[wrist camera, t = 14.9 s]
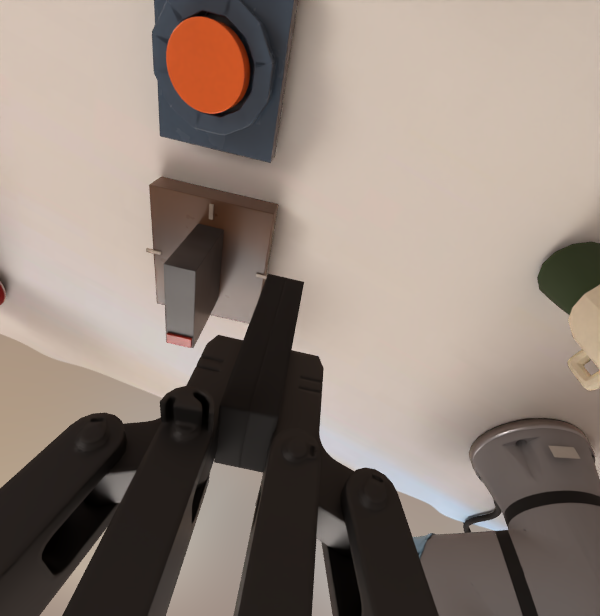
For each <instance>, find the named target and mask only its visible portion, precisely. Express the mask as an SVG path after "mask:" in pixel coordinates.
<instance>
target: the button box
mask: <svg viewBox="0 0 600 616" xmlns="http://www.w3.org/2000/svg"><path fill="white" fill-rule="evenodd" d="M297 5H298V0H154V8H155V27H154V29H153V31H152V44H153V65H154V74H155V76H156V78H157V80H158V101H159V124H160V136H162V137H166V138H170V139H174V140H178V141H182V142H186V143H190V144H195V145H199V146H203V147H207V148H211V149H215V150H219V151H223V152H228V153H232V154H236V155H240V156H244V157H248V158H252V159H257V160H261V161H265V162H269V163H271V161H272V160H273V158H274V157H275V152H276V145H277V139H278V132H279V125H280V119H281V112H282V105H283V99H284V92H285V85H286V78H287V72H288V65H289V58H290V52H291V45H292V38H293V32H294V25H295V18H296V12H297ZM195 16H202V17H208V18H211V19H214V20H217V21H220V22H222V23H224V24H226V25H227V26H229V27H230V28H231V29H232V30H233V31H234V32H235V33H236V34H237V35H238V37H239V38H240V40H241V41H242V43H243V45H244V47H245V49H246V52H247V55H248V58H249V63H250V80H249V85H248V88H247V91H246V93H245V95H244V97H243V98H242V99H241V101H240V102H239V103H238V104H237V105H235V106H234V107H232V108H230V109H228V110H226V111H224V112H221V113H216V114H208V113H203V112H200V111H198V110H196V109H194V108H192V107H191V106H189V105H188V104H187V103H186V102H185V101H184V100H183V99H182V98H181V97H180V96H179V94H178V93H177V91H176V90H175V88H174V86H173V84H172V82H171V79H170V77H169V73H168V69H167V62H166V51H167V45H168V41H169V38H170V36H171V34H172V32H173V30H174V29H175V28H176V27H177V25H179V24H180V23H181V22H182V21H184V20H185V19H188V18H190V17H195Z"/></svg>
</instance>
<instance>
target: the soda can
mask: <svg viewBox="0 0 600 616" xmlns="http://www.w3.org/2000/svg"><path fill="white" fill-rule="evenodd" d="M5 299H6V291H5V288H4V286H3V284H2V283H1V281H0V305H1V304H2V303H3V302H4V301H5Z"/></svg>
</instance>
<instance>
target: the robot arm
mask: <svg viewBox="0 0 600 616" xmlns="http://www.w3.org/2000/svg"><path fill="white" fill-rule="evenodd" d="M303 285H304V282H301V281H297V280H293V279H288V278H284V277H280V276H275V275H271V274H268V275H267V278H266V280H265V283H264V286H263V289H262V291H261V294H260V297H259V299H258V302H257V305H256V308H255V310H254V313H253V316H252V318H251V321H250V324H249V327H248V329H247V332H246V335H245V337H244V340H239V339H234V338H230V337H225V336H221V335H218V336H216V337H215V338H214V339H213V340H211V341H210V342H209V343H208V344H207V345H206V347H205V349H204V351H203V353H202V356H201V357H200V359H199V361H198V363H197V367H196V368H195V370H194V372H193V374H192V376H191V378H190V380H189V382H188V384H187V386H184V387H180V388H176V389H174V390H172V391H171V392H169V393H167V394H166V395H165V396H164V397H163V399H162V400H161V401H160V410H161V418H159V419H156V420H153V421H148V422H140V423H127V424H123V423H122V421H121V420H120V419H119V418H118V417H116V416H115V415H112V414H108V413H96V414H91V415H88V416H85V417H83V418H80V419H79V420H78V421H76V422H75V423H73V424H72V425H70V426H69V427H68V428H67V429H66V430H65V431H64V432H63V433H62V434H60V435H59V436H58V437H57V438H56V439H55V440H54V441H53V442H51V443H50V444H49V445H48V446H47V447H46V448H45V449H44V450H43V451H41V453H39V454H38V455H37V456H36V457H35V458H34V459H33V460H31V461H30V462H29V463H28V464H27V465H26V466H25V467H24V468H23V469H21V470H20V471H19V472H18V473H17V474H16V475H15V476H14V477H13V478H11V479H10V480H9V481H8V482H7V483H6V484H5V485H4V486H3V487H1V488H0V616H39V615H40V614H41V613H42V612H43V610H44V609H45V608H46V606H47V605H48V604H49V602H50V601H51V600H52V598H53V597H54V596H55V595H56V593H57V592H58V591H59V589H60V588H61V587H62V585H63V584H64V583H65V582H66V580H67V579H68V578H69V576H70V575H71V574H72V572H73V571H74V570H75V568H76V567H77V566H78V565H79V563H80V562H81V560H82V559H83V558H84V557H85V555H86V554H87V553H88V552H89V550H90V549H91V548H92V546H93V545H94V544H95V542H96V541H97V540H98V538H99V537H100V536H101V534H102V533H103V532H104V531H105V529H106V528H107V529H106V531H105V533H104V535H103V537H102V539H101V541H100V543H99V545H98V547H97V549H96V551H95V553H94V555H93V557H92V559H91V561H90V563H89V565H88V567H87V569H86V570H85V573H84V574H83V576H82V578H81V580H80V582H79V584H78V586H77V588H76V590H75V592H74V594H73V596H72V598H71V600H70V602H69V604H68V606H67V608H66V610H65V611H64V613H63V615H62V616H166V613H167V609H168V607H169V604H170V600H171V597H172V594H173V591H174V588H175V585H176V582H177V579H178V576H179V573H180V570H181V566H182V563H183V560H184V557H185V554H186V551H187V548H188V545H189V542H190V539H191V535H192V532H193V529H194V526H195V523H196V520H197V517H198V514H199V511H200V508H201V504H202V502H203V498H204V495H205V492H206V489H207V486H208V483H209V475H210V470H211V467H212V464H213V461H214V462H216V463H221V464H225V465H230V466H235V467H239V468H244V469H249V470H254V471H258V472H263V476H262V481H261V486H260V490H259V493H258V498H257V501H256V508H255V513H254V518H253V523H252V528H251V533H250V538H249V542H248V547H247V552H246V557H245V562H244V567H243V572H242V577H241V582H240V587H239V591H238V597H237V601H236V606H235V611H234V616H312V600H313V583H314V568H315V551H316V550H315V549H316V539H318V540H320V541H321V542H322V548H323V555H324V561H325V567H326V574H327V581H328V587H329V594H330V601H331V607H332V614H333V616H600V479H599V476H598V473H597V470H596V467H595V455H594V451H593V449H592V446H591V444H590V443H589V441H588V440H587V438H586V437H585V435H584V434H583V432H582V431H581V430H580V429H578V428H577V427H575V426H573V425H571V424H569V423H566V422H562V421H557V420H550V419H528V420H521V421H515V422H511V423H507V424H504V425H501V426H498V427H496V428H494V429H491V430H489V431H488V432H486V433H484V434H483V435H481V436H480V437H479V438H478V439H477V440H476V441H475V442H474V443H473V445H472V446H471V449H470V452H469V456H470V460H471V463H472V466H473V469H474V471H475V473H476V475H477V476H478V477H479V479H480V480H481V481H482V482H483V483H484V484H485V486H486V487H487V489H488V491H489V492H490V494H491V495H492V497H493V498H494V503H495V506H496V510H495V511H494V512H492V513H490V514H486V515H482V516H477V517H473V518H470V519H468V520H466V521H465V523H464V522H463V524H464V526H463V528H464V532H465V533H458V534H433V533H430V534H428V535H426V536H420V537H412V535H411V532H410V529H409V526H408V523H407V520H406V517H405V514H404V511H403V508H402V505H401V502H400V499H399V496H398V494H397V491H396V489H395V487H394V485H393V483H392V482H391V481H390V480H389V479H388V478H387V477H386V476H385V475H384V474H382V473H380V472H379V471H377V470H375V469H370V468H362V469H358V470H356V471H355V472H354V471H353V470H351V469H349V468H347V467H346V466H344V465H342V464H340V463H339V462H337V461H336V460H334V459H333V458H331V457H330V455H329V454H328V453H327V452H326V451H325V449H324V448H323V446H322V444H321V441H320V436H319V427H320V412H321V397H322V394H321V393H322V381H323V366H322V364H321V361H320V359H319V357H318V356H315V355H310V354H306V353H301V352H297V351H292V350H291V349H292V343H293V338H294V333H295V327H296V322H297V317H298V311H299V306H300V301H301V295H302V290H303ZM214 458H215V460H214ZM501 512H502V513H503V515H504V518H505V521H506V524H507V526H508V530H503V531H486V532H471V530H470V528H469V525H471V524H473V523H476V522H481V521H486V520H490V519H494V518H496V517H498V516H499V515H500V514H501Z"/></svg>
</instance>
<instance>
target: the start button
mask: <svg viewBox="0 0 600 616" xmlns="http://www.w3.org/2000/svg"><path fill="white" fill-rule="evenodd" d="M166 62H167V69H168V73H169V77H170V79H171V82H172V84H173V86H174V88H175V90H176V91H177V93H178V94H179V96H180V97H181V98H182V99H183V100H184V101H185V102H186V103H187V104H188V105H189V106H191V107H192V108H194V109H196V110H198V111H200V112H203V113H208V114H216V113H221V112H224V111H226V110H228V109H230V108H232V107H234V106H235V105H237V104H238V103H239V102H240V101H241V99H242V98H243V97H244V95H245V93H246V91H247V88H248V85H249V80H250V63H249V58H248V55H247V52H246V49H245V47H244V45H243V43H242V41H241V40H240V38H239V37H238V35H237V34H236V33H235V32H234V31H233V30H232V29H231V28H230V27H229V26H227V25H226V24H224V23H222V22H220V21H217V20H214V19H211V18H208V17H202V16H195V17H190V18H188V19H185V20H184V21H182V22H181V23H180V24H179V25H177V27H176V28H175V29H174V30H173V32H172V34H171V36H170V38H169V41H168V45H167V51H166Z"/></svg>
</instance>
